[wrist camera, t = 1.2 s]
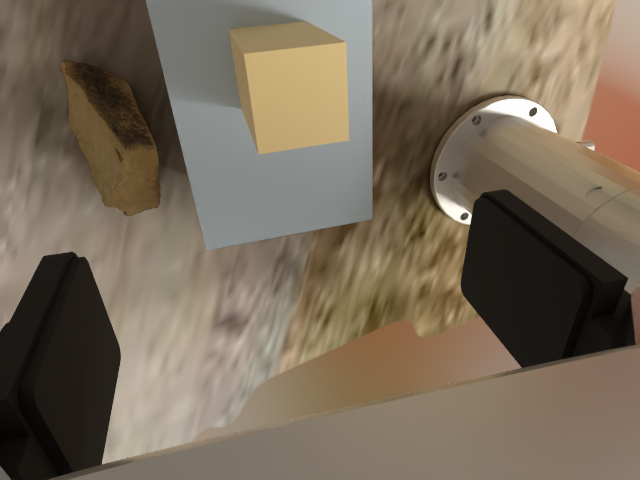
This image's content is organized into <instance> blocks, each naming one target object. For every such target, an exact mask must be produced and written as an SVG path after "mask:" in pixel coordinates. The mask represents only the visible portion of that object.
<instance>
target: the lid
mask: <svg viewBox="0 0 640 480" xmlns="http://www.w3.org/2000/svg"><path fill="white" fill-rule="evenodd" d="M146 4H147V8H148V12H149V16H150V20H151V25H152V29H153V33H154V37H155V41H156V45H157V49H158V53H159V58H160V62H161V66H162V70H163V74H164V78H165V82H166V87H167V91H168V95H169V99H170V103H171V107H172V111H173V115H174V120H175V124H176V128H177V132H178V136H179V140H180V144H181V149H182V153H183V157H184V161H185V165H186V169H187V173H188V177H189V182H190V186H191V190H192V194H193V198H194V202H195V206H196V210H197V215H198V219H199V223H200V227H201V231H202V235H203V239H204V244H205V248H206V251H207V250H212V249H217V248H223V247H228V246H233V245H239V244H244V243H249V242H255V241H260V240H265V239H270V238H276V237H281V236H286V235H292V234H297V233H302V232H308V231H313V230H318V229H323V228H329V227H334V226H339V225H345V224H350V223H355V222H361V221H366V220H371V219H373V206H372V0H146Z"/></svg>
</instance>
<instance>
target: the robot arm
mask: <svg viewBox="0 0 640 480" xmlns="http://www.w3.org/2000/svg"><path fill="white" fill-rule="evenodd" d="M594 148H595V145H594V143H593V142H592V141H591V140H584V141H578V142H574V141H572V140H570V139H568V138H566V137H564V136H561V135H559V134H557V130H556V127H555V124H554V120H553V119H552V117H551V116H550V114H549V112H548V111H547V110H546V109H545V108H544V107H542V106H541V105H540V104H538V103H536V102H534V101H532V100H530V99H527V98H524V97H521V96H512V95H506V96H499V97H494V98H492V99H489V100H486V101H483V102H481V103H480V104H478V105H476V106H474V107H472V108H471V109H469V110H468V111H467V112H466V113H464V114H463V115H462V116H461V117H459V118H458V119H457V120H456V122H455V123H454V124H453V125H452V126H451V127H450V128H449V129H448V131H447V132H446V134H445V135H444V137H443V138H442V139H441V141H440V143H439V145H438V148H437V150H436V152H435V154H434V158H433V161H432V164H431V172H430V185H431V191H432V194H433V197H434V200H435V201H436V203H437V205H438V206H439V207H440V208H441V210H442V211H443V212H444V213H445V214H446V215H448V216H449V217H450V218H451V219H453V220H455V221H457V222H459V223H461V224H466V225H470V229H469V235H468V241H467V247H466V254H465V260H464V266H463V272H462V278H461V290H462V293H463V295H464V297H465V298H466V299H467V300H468V302H469V303H470V304H471V305H472V307H473V308H474V309H475V310H476V312H477V313H478V314H479V315H480V317H481V318H482V319H483V320H484V321H485V323H486V324H487V325H488V326H489V328H490V329H491V330H492V331H493V333H494V334H495V335H496V336H497V338H498V339H499V340H500V341H501V342H502V344H503V345H504V346H505V347H506V349H507V350H508V351H509V352H510V354H511V355H512V356H513V357H514V358H515V360H516V361H517V362H518V363H519V365H520V366H521V367H522V368H520V369H515V370H511V371H506V372H502V373H497V374H493V375H489V376H483V377H479V378H475V379H470V380H465V381H461V382H457V383H451V384H447V385H443V386H438V387H434V388H429V389H425V390H420V391H416V392H411V393H407V394H403V395H398V396H393V397H389V398H384V399H380V400H375V401H371V402H367V403H362V404H358V405H353V406H349V407H345V408H340V409H336V410H331V411H327V412H323V413H318V414H313V415H309V416H305V417H301V418H297V419H292V420H287V421H284V422H279V423H275V424H270V425H266V426H261V427H257V428H253V429H249V430H244V431H240V432H235V433H231V434H227V435H222V436H218V437H214V438H209V439H205V440H201V441H196V442H192V443H188V444H183V445H179V446H175V447H171V448H167V449H163V450H159V451H154V452H150V453H146V454H142V455H138V456H134V457H130V458H126V459H122V460H118V461H114V462H110V463H106V464H102V459H103V454H104V448H105V443H106V437H107V432H108V426H109V421H110V415H111V410H112V405H113V399H114V394H115V388H116V383H117V377H118V372H119V366H120V360H121V354H120V347H119V344H118V341H117V338H116V336H115V333H114V330H113V328H112V325H111V322H110V320H109V317H108V314H107V311H106V309H105V306H104V303H103V301H102V298H101V295H100V293H99V290H98V287H97V284H96V282H95V279H94V276H93V274H92V271H91V268H90V266H89V263H88V261H87V259H86V258H85V257H79V258H78V257H77V255H76V254H75V253H74V252H68V253H61V254H55V255H48V256H44V257H43V258H42V260H41V261H40V263H39V265H38V267H37V269H36V271H35V273H34V275H33V277H32V279H31V281H30V283H29V285H28V287H27V289H26V291H25V293H24V295H23V297H22V299H21V301H20V303H19V304H18V306H17V308H16V310H15V312H14V314H13V316H12V318H11V320H10V322H9V323H7V324H5V326H4V327H3V328H2V330H1V332H0V480H640V172H638V171H635V170H633V169H631V168H629V167H627V166H625V165H623V164H621V163H619V162H616V161H614V160H612V159H610V158H608V157H606V156H604V155H602V154H599V153H597V152H595V151H594ZM101 464H102V465H101Z"/></svg>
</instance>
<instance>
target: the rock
mask: <svg viewBox="0 0 640 480" xmlns="http://www.w3.org/2000/svg"><path fill="white" fill-rule="evenodd" d="M59 67H60V70H61V72H62V73H63V75H64V78H65V81H66V87H67V91H68V104H69V120H68V121H69V126H70V128H71V130H72V132H73V133H74V134H75V135H76V137H77V138H78V141H79V147H80V149H81V150H82V152H83V153H84V155H85V157H86V159H87V160H88V161H89V165H90V168H91V174H92V178H93V180H94V182H95V184H96V186H97V188H98V190H99V192H100V194H101V196H102V201H103V203H104V205H105V206H106V207H116V208H118V209H119V210H122V211H123V213H124V214H125V215H126V216H132V215H134V214H137V213H140V212H142V211H144V210H148V209H152V208H157V207H158V206H159V204H160V199H159V198H160V185H159V164H158V162H159V159H158V154H157V151H156V149H157V147H156V143H155V141H154V139H153V137H152V135H151V133H150V130H149V129H148V126H147V124H146V122H145V121H144V119H143V116H142V113H141V112H140V111H139V108H138V105H137V102H136V100H135V99H134V94H133V92H132V90H131V88H130V85H129V83H127V82H126V81H125V80H123V79H121V78H119V77H117V76H115V75H112V74H110V73H108V72H106V71H103V70H101V69H99V68H97V67H94V66H91V65H87V64H82V63H70V62H66V61H62V63H61V64H60V66H59Z"/></svg>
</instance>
